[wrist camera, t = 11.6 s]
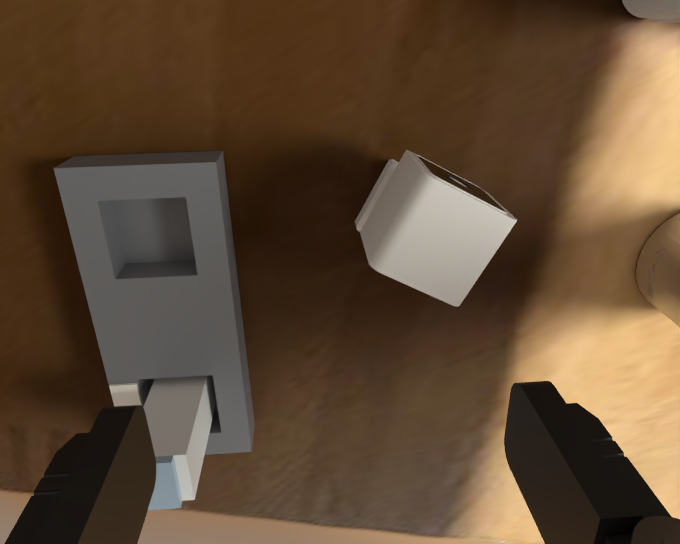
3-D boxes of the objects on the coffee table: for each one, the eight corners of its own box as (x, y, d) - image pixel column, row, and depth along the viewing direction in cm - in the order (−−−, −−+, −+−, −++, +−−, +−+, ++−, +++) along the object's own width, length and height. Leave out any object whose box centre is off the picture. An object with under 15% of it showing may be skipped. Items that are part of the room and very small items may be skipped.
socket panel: (222, 150, 37) (215, 162, 34) (254, 424, 47) (251, 453, 44) (73, 156, 36) (52, 169, 33) (138, 431, 47) (127, 461, 43)
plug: (209, 364, 43) (184, 461, 34) (215, 403, 45) (192, 507, 36) (159, 366, 43) (119, 465, 34) (167, 406, 45) (131, 511, 35)
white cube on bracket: (470, 175, 39) (522, 222, 30) (420, 255, 41) (454, 321, 32) (395, 135, 37) (425, 172, 28) (348, 221, 40) (362, 280, 31)
